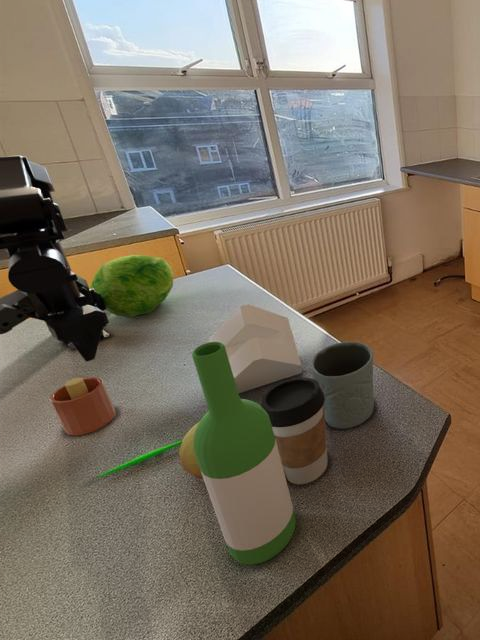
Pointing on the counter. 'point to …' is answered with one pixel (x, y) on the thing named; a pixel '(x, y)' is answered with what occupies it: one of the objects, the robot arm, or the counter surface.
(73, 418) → the cup
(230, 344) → the beige block
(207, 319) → the counter surface
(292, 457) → the coffee cup
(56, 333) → the robot arm
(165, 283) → the lettuce
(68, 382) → the tan solid cylinder
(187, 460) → the apple
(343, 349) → the grey green pot
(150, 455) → the leaf
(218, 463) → the bottle
